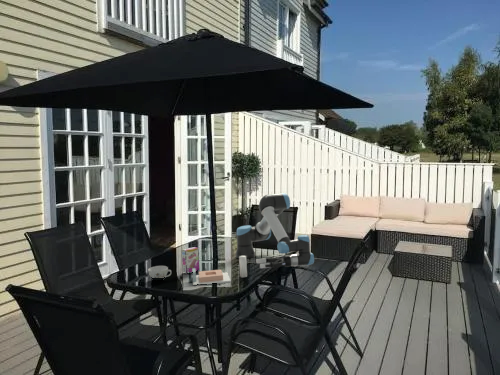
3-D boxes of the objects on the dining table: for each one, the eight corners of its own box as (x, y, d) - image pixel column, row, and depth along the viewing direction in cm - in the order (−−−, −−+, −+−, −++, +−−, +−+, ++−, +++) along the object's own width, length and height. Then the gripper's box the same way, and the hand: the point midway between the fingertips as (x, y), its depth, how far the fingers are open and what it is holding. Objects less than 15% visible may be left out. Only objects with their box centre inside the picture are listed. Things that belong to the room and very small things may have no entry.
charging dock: (192, 277, 278) (191, 266, 277) (227, 273, 281) (226, 263, 280) (193, 285, 258) (192, 274, 257) (230, 282, 261) (230, 270, 261)
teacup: (145, 283, 269) (144, 270, 269) (152, 277, 282) (151, 265, 281) (168, 282, 267) (167, 270, 267) (174, 277, 280) (173, 265, 279)
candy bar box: (186, 274, 285) (185, 250, 284) (182, 273, 288) (180, 249, 287) (200, 270, 292) (198, 247, 291) (195, 269, 296) (194, 246, 295)
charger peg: (239, 275, 274) (238, 255, 274) (246, 275, 275) (245, 255, 274) (240, 277, 270) (239, 257, 269) (247, 277, 271) (246, 256, 270)
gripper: (295, 271, 264) (261, 274, 261) (286, 262, 289) (255, 264, 286) (294, 259, 264) (261, 262, 261) (285, 251, 289) (254, 253, 285)
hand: (258, 263), depth 273 cm, fingers open, 13 cm apart
